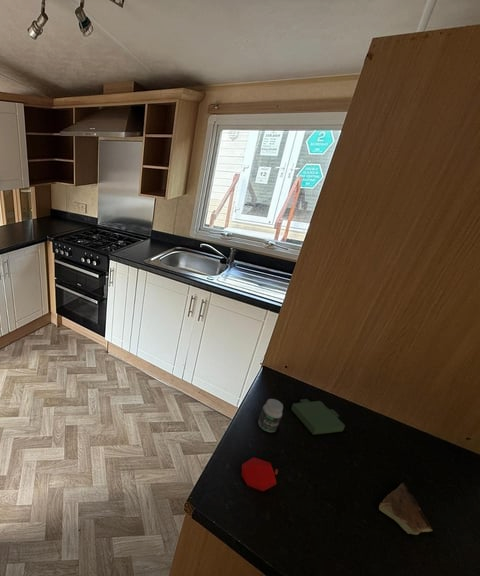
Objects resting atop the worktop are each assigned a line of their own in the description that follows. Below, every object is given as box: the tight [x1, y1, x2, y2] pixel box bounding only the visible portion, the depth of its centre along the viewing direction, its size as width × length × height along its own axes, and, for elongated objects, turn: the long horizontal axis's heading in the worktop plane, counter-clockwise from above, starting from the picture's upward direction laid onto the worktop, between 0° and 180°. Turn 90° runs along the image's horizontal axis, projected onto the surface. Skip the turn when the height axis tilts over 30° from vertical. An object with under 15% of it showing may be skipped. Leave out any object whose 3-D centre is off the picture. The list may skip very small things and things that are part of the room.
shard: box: [378, 481, 433, 536], centre depth 67 cm, size 11×8×2 cm
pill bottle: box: [258, 398, 284, 433], centre depth 86 cm, size 5×5×8 cm
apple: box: [240, 457, 279, 492], centre depth 72 cm, size 7×7×8 cm
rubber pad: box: [290, 398, 346, 435], centre depth 90 cm, size 10×10×2 cm
